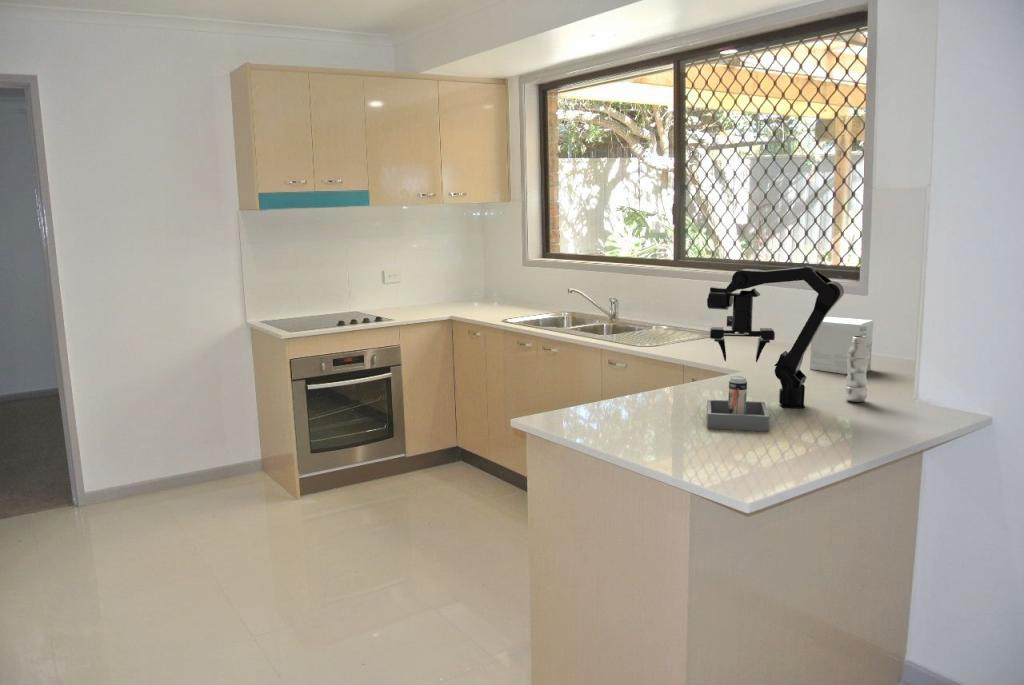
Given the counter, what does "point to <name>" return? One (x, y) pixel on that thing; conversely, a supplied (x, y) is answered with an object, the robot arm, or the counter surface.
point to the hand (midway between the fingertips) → (740, 361)
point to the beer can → (737, 395)
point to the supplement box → (838, 343)
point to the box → (737, 416)
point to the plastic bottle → (857, 370)
